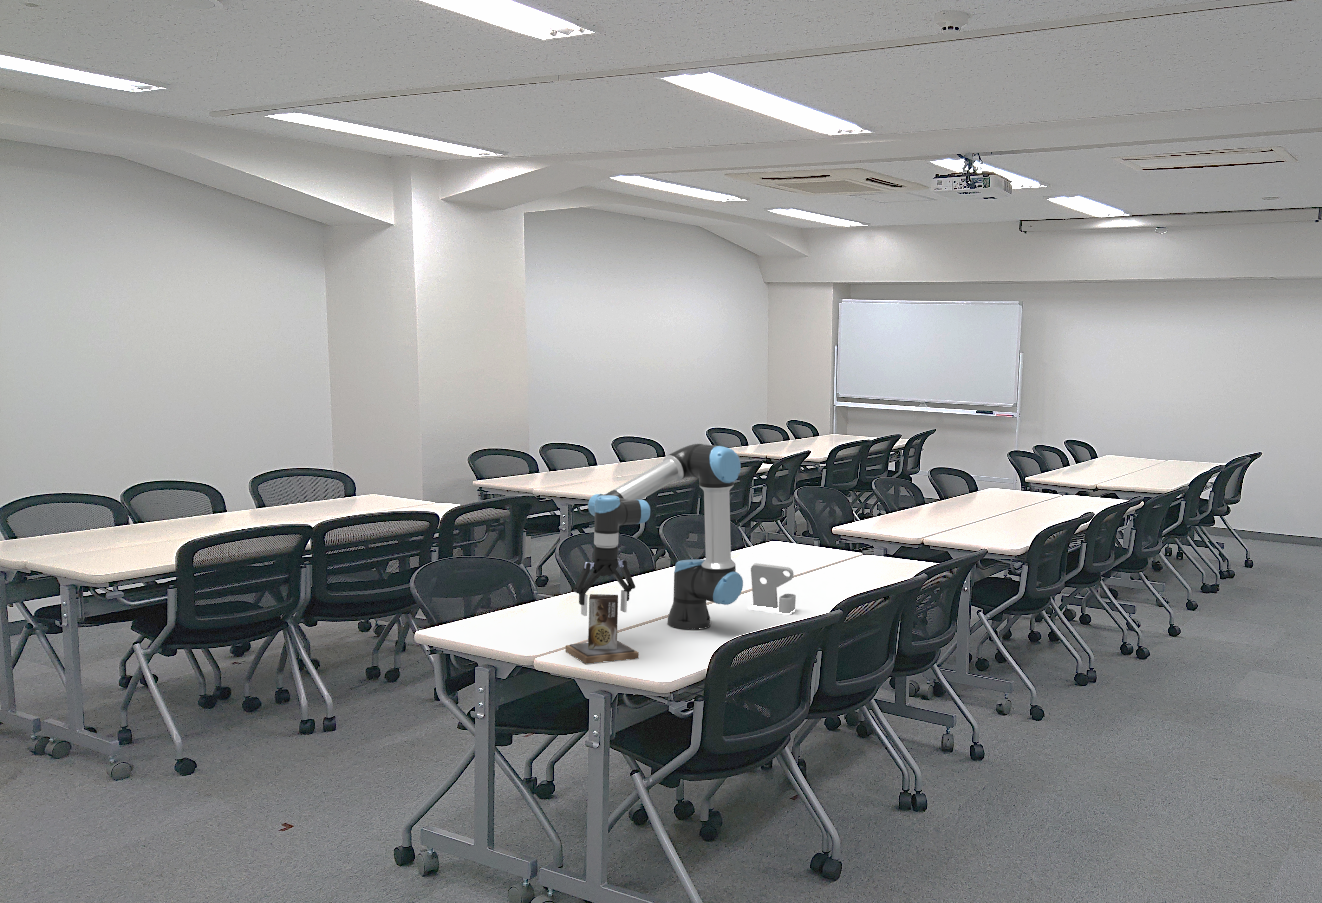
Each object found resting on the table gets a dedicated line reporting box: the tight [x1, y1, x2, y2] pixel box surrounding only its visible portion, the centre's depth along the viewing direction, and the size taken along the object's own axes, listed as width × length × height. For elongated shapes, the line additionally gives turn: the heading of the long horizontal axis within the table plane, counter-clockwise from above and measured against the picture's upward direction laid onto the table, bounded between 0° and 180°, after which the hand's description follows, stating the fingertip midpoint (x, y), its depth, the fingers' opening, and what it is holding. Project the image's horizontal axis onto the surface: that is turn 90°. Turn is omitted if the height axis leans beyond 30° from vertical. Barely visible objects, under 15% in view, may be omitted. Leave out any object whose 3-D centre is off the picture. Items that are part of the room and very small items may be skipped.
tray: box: [565, 640, 640, 664], centre depth 337 cm, size 18×15×2 cm
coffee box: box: [587, 593, 619, 650], centre depth 336 cm, size 9×6×16 cm
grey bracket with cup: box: [750, 562, 797, 613], centre depth 408 cm, size 17×10×18 cm, turn 65°
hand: (603, 613), depth 336 cm, fingers open, 13 cm apart
